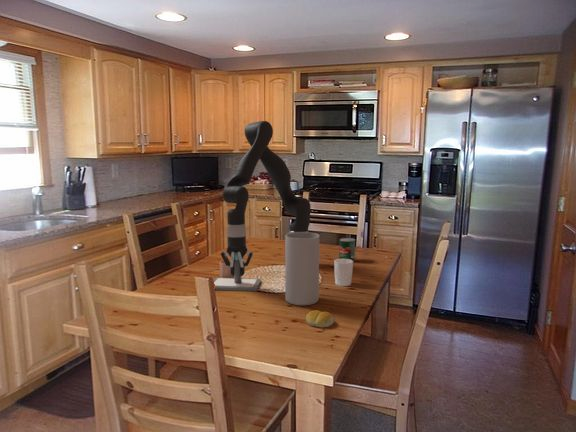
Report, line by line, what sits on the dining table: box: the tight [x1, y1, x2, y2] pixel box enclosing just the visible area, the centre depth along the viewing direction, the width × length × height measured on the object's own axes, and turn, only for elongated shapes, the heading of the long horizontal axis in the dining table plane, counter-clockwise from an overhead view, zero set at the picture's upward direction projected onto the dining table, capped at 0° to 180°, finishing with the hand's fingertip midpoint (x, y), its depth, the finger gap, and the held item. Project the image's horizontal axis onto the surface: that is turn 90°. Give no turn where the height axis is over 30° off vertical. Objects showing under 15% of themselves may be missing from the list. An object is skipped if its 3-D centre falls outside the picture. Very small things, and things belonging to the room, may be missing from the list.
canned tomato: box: [338, 237, 356, 263], centre depth 221 cm, size 8×8×11 cm
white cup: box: [333, 258, 354, 287], centre depth 183 cm, size 8×8×10 cm
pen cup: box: [218, 259, 234, 278], centre depth 192 cm, size 6×6×7 cm
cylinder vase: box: [284, 231, 320, 307], centre depth 162 cm, size 12×12×25 cm
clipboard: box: [213, 277, 262, 292], centre depth 181 cm, size 20×13×1 cm, turn 84°
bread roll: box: [305, 309, 335, 328], centre depth 143 cm, size 8×9×4 cm
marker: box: [234, 253, 243, 284], centre depth 180 cm, size 3×3×13 cm
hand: (237, 275), depth 180 cm, fingers closed on marker, 3 cm apart
